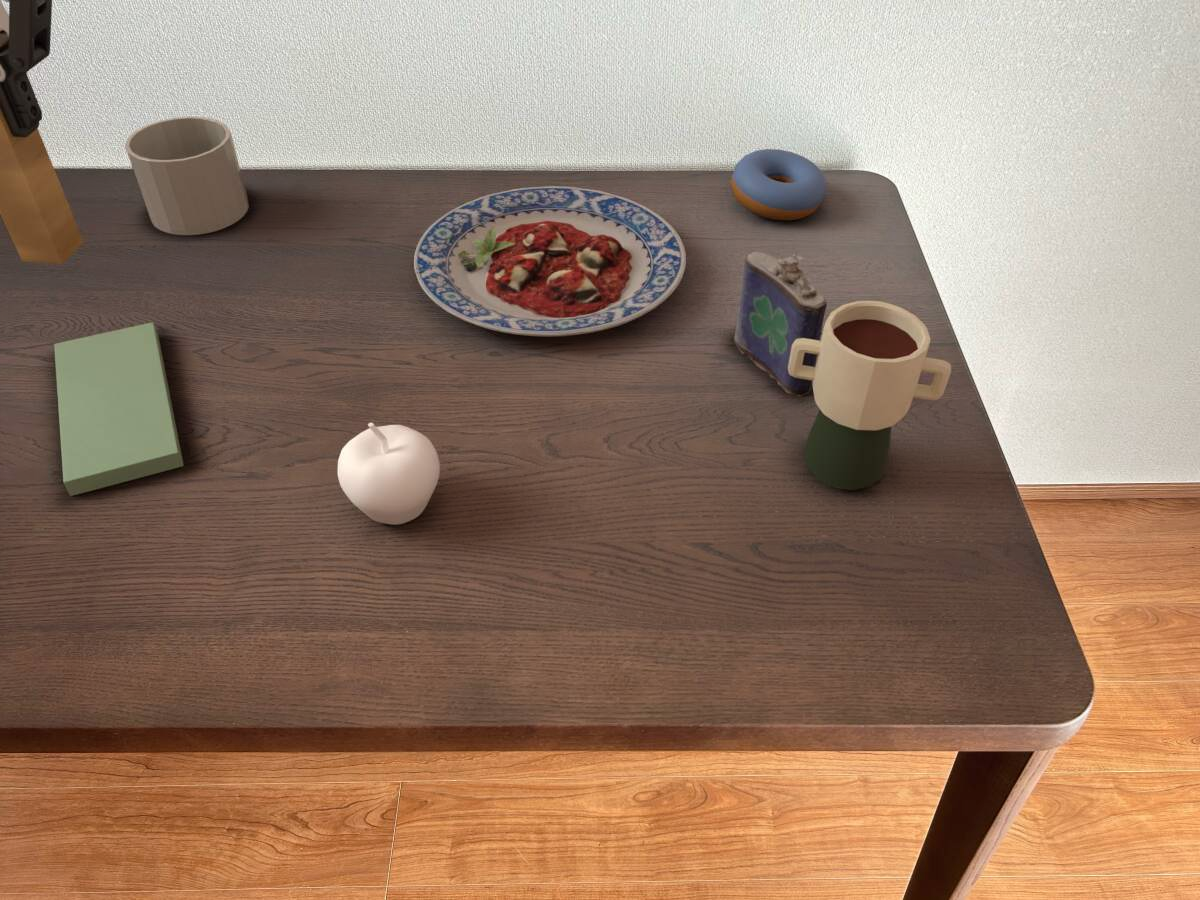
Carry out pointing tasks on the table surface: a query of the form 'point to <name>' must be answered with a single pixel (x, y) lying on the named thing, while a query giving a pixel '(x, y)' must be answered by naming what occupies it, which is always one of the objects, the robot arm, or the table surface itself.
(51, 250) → the stick
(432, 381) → the table surface
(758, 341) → the flask
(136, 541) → the table surface
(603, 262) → the ceramic plate
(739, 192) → the doughnut
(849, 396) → the character mug
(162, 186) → the tin
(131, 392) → the green rectangular block
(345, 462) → the apple
